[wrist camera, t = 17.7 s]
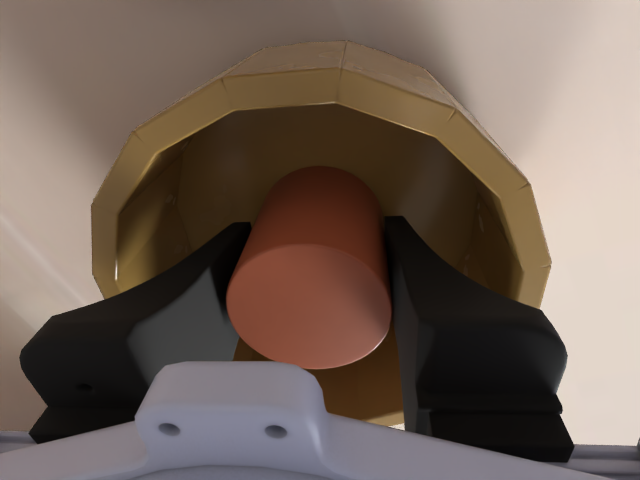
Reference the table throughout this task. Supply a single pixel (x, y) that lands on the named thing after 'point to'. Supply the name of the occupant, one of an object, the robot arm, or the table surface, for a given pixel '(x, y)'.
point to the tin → (332, 151)
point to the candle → (314, 272)
